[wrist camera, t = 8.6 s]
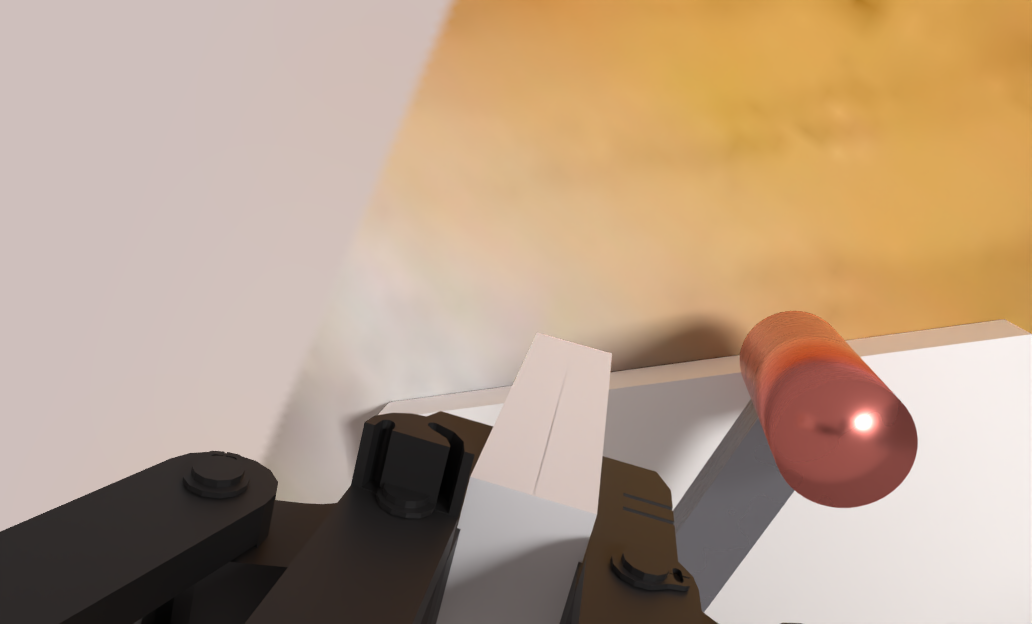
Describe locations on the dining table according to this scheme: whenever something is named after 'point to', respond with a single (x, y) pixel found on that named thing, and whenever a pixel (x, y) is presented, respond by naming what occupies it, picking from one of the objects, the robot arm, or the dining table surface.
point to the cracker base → (865, 529)
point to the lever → (792, 444)
